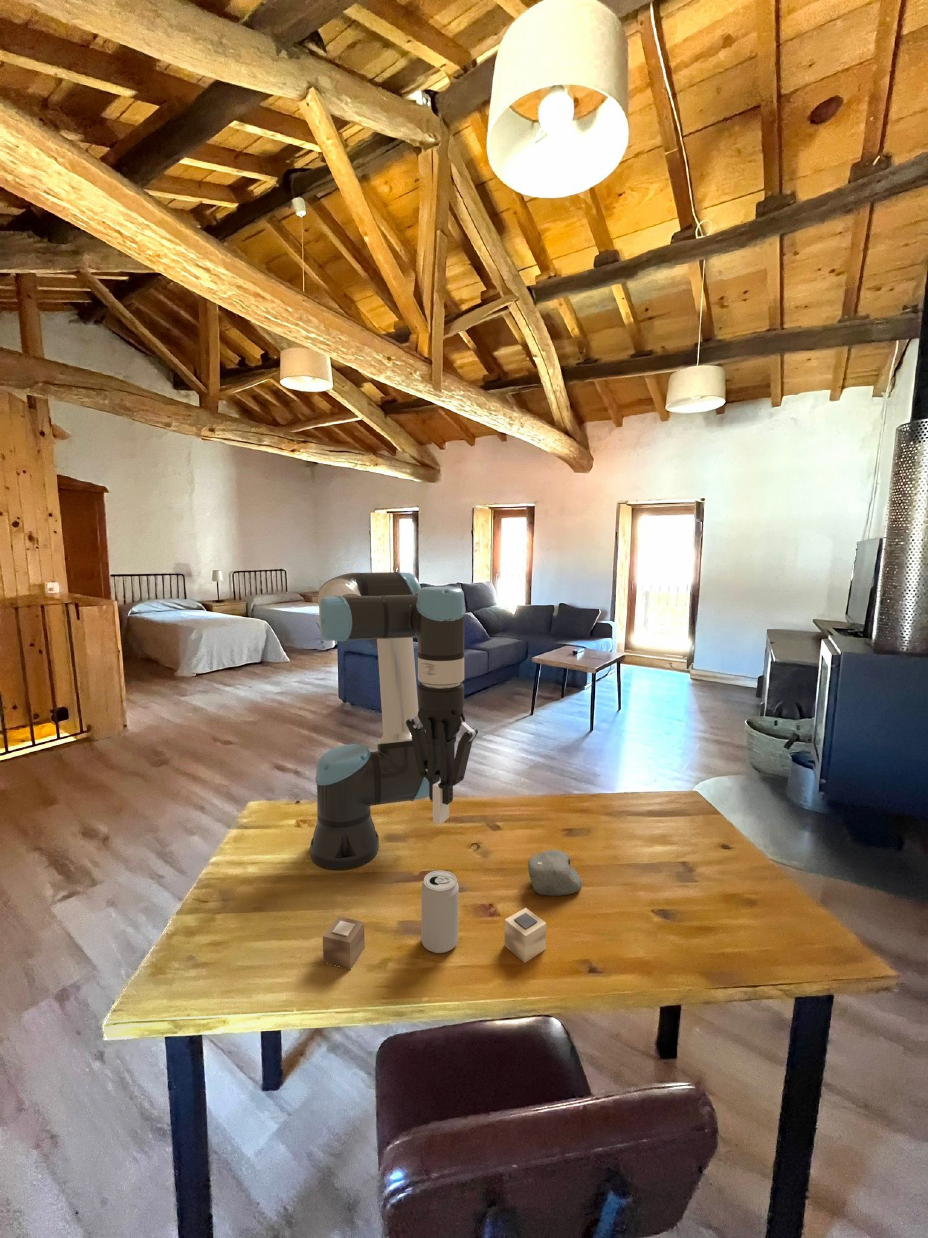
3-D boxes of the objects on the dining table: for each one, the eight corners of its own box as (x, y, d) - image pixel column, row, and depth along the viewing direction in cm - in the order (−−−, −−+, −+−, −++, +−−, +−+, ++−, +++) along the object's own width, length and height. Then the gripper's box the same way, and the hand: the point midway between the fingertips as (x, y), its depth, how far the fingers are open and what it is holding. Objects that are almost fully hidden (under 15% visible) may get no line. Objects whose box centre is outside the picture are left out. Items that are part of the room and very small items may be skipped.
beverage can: (421, 930, 97) (421, 869, 95) (456, 929, 98) (457, 867, 96) (421, 957, 91) (421, 892, 89) (459, 955, 91) (460, 890, 90)
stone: (588, 901, 106) (566, 858, 104) (547, 919, 106) (524, 877, 105) (579, 873, 114) (559, 833, 113) (541, 890, 115) (521, 851, 114)
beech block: (504, 946, 94) (505, 918, 93) (525, 933, 97) (525, 906, 96) (524, 963, 90) (525, 935, 89) (545, 949, 93) (546, 922, 92)
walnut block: (323, 963, 89) (322, 935, 89) (338, 942, 94) (338, 915, 93) (350, 970, 88) (349, 941, 87) (364, 948, 93) (364, 921, 92)
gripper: (394, 681, 88) (396, 819, 91) (463, 693, 81) (462, 841, 84) (422, 673, 94) (422, 801, 97) (487, 683, 87) (485, 820, 90)
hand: (441, 819), depth 90 cm, fingers closed
